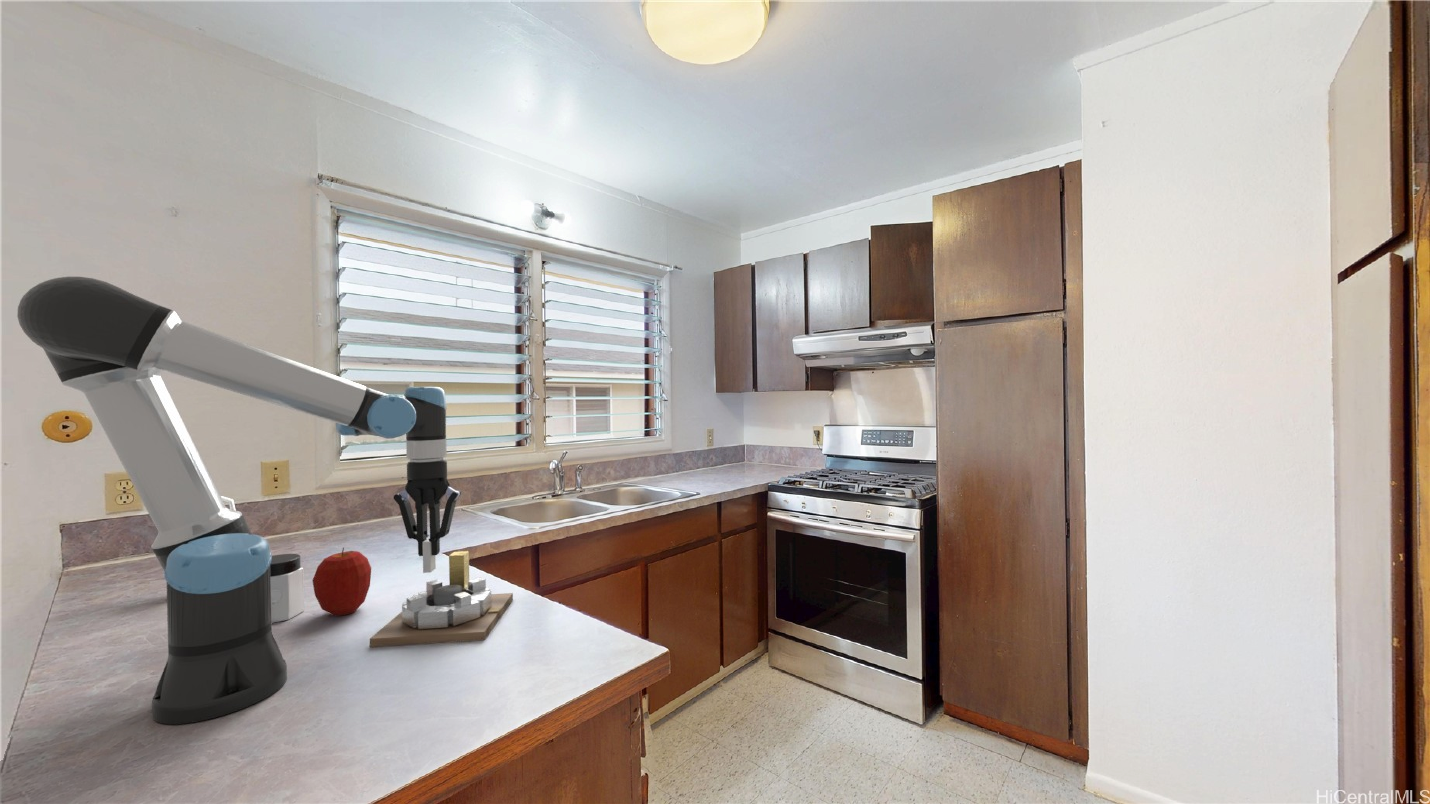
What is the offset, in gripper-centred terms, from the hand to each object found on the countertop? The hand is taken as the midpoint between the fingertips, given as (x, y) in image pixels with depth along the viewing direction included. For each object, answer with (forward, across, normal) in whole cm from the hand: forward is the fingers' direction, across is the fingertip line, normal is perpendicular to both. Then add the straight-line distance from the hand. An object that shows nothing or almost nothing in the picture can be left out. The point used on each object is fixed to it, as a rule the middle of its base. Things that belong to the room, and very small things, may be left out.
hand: (429, 570), depth 114 cm
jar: (+9, +31, -2) cm, 32 cm away
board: (+8, -6, +7) cm, 12 cm away
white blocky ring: (+7, -6, +7) cm, 11 cm away
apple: (+9, +18, -2) cm, 20 cm away
